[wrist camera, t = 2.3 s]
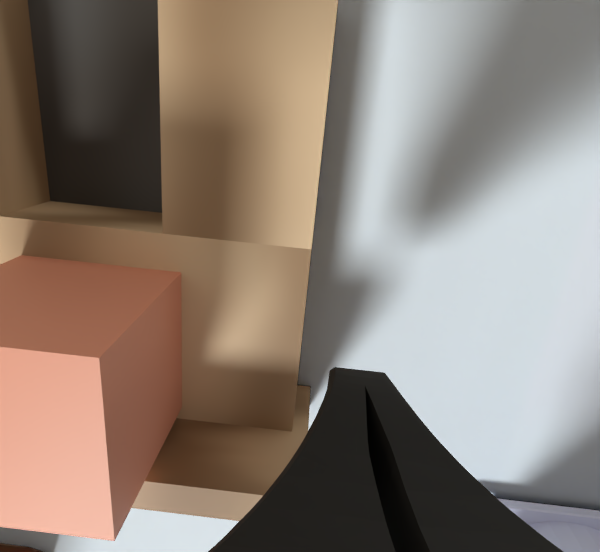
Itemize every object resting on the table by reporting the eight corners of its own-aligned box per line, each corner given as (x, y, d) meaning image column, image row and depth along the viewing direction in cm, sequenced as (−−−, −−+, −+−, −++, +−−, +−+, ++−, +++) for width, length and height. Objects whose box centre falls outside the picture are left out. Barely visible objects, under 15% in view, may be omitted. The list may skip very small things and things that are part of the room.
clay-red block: (181, 272, 12) (99, 358, 7) (182, 407, 13) (114, 540, 9) (21, 255, 12) (-150, 330, 8) (40, 390, 13) (-91, 515, 9)
